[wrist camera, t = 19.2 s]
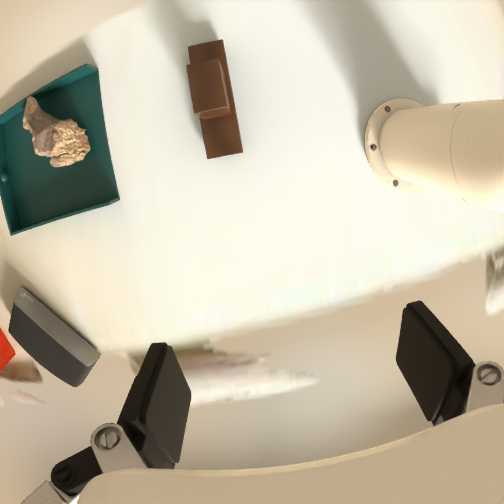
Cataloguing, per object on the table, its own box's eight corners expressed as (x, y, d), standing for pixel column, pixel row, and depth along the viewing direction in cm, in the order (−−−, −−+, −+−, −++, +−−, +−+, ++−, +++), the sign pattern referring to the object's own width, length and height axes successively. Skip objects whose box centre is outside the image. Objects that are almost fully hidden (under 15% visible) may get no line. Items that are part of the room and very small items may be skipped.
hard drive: (24, 282, 39) (11, 292, 35) (103, 350, 44) (95, 365, 40) (13, 322, 42) (3, 333, 38) (83, 381, 47) (75, 395, 43)
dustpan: (98, 68, 28) (86, 63, 25) (120, 199, 34) (109, 204, 31) (-29, 146, 29) (-40, 148, 26) (-9, 241, 36) (-20, 247, 33)
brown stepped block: (224, 45, 28) (216, 18, 20) (243, 152, 33) (241, 154, 25) (191, 52, 28) (175, 27, 20) (210, 158, 33) (197, 162, 25)
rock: (44, 87, 28) (13, 83, 21) (101, 138, 31) (71, 140, 25) (25, 120, 29) (-6, 122, 23) (79, 174, 33) (48, 182, 26)
